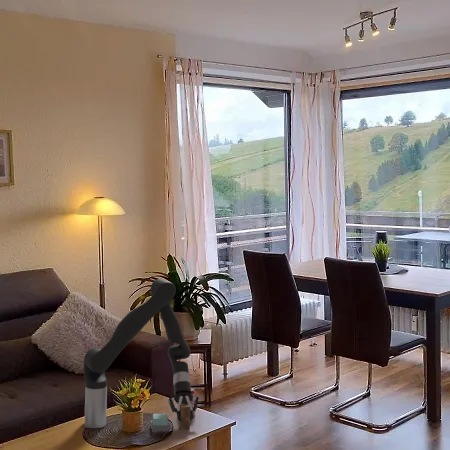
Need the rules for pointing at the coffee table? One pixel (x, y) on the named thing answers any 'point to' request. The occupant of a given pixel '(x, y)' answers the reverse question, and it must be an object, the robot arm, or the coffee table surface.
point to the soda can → (193, 396)
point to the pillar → (184, 416)
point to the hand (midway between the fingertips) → (185, 420)
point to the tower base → (159, 427)
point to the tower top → (159, 419)
